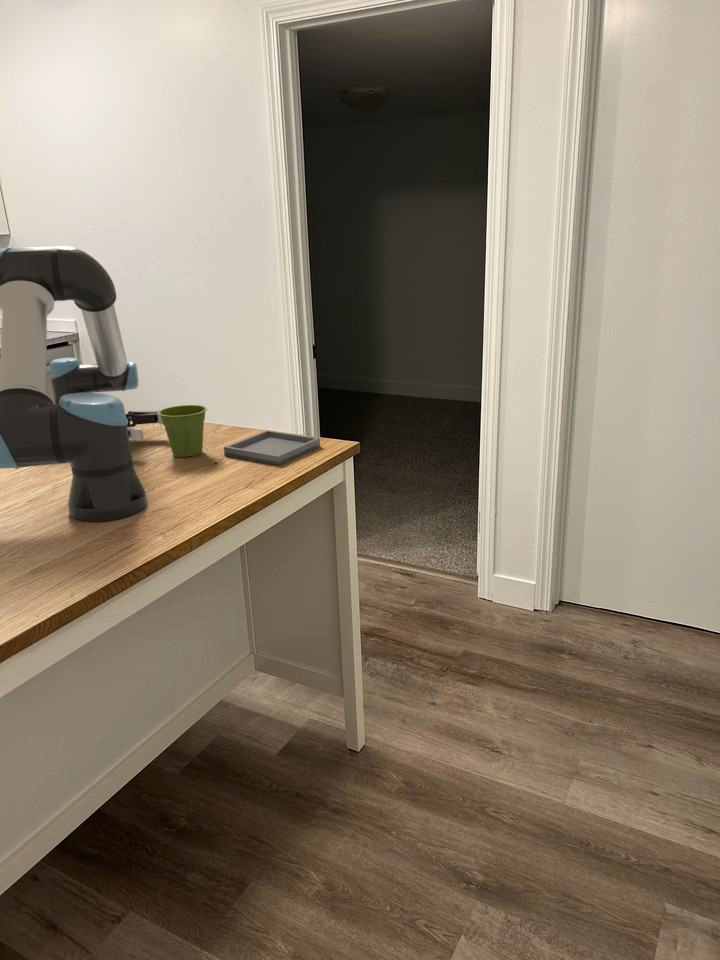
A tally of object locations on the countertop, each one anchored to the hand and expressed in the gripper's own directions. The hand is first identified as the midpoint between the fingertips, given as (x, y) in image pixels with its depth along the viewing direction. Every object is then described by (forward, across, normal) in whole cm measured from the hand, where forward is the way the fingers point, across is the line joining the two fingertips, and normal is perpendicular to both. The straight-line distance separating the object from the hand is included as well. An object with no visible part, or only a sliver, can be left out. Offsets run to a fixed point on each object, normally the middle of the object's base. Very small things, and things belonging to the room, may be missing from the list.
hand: (160, 427), depth 183 cm
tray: (+27, -10, -6) cm, 29 cm away
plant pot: (+8, 0, -6) cm, 10 cm away
